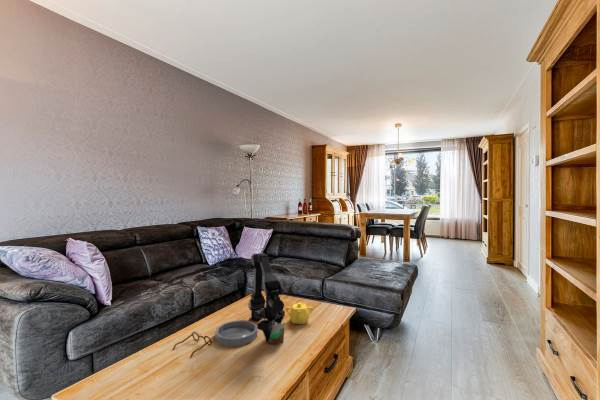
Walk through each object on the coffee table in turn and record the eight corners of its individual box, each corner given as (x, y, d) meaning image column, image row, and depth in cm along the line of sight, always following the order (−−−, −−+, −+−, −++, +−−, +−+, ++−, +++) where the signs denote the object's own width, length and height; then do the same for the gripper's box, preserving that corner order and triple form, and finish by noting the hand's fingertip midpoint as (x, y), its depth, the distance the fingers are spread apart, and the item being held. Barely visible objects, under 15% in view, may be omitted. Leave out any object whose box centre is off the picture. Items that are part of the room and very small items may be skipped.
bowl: (231, 324, 165) (231, 318, 164) (264, 330, 157) (264, 323, 157) (206, 341, 145) (206, 334, 145) (243, 349, 138) (243, 342, 138)
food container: (257, 342, 144) (257, 322, 144) (264, 337, 149) (264, 317, 149) (279, 348, 138) (279, 327, 138) (285, 342, 144) (285, 322, 144)
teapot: (316, 322, 167) (316, 304, 167) (299, 329, 158) (299, 310, 158) (300, 315, 177) (300, 298, 177) (283, 321, 169) (283, 303, 169)
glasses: (212, 346, 141) (212, 336, 141) (189, 359, 130) (189, 348, 130) (193, 340, 148) (193, 330, 148) (170, 352, 137) (170, 341, 137)
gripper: (265, 296, 155) (266, 326, 155) (247, 309, 138) (247, 342, 138) (285, 299, 151) (285, 329, 151) (268, 312, 134) (268, 347, 134)
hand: (271, 336), depth 144 cm, fingers open, 9 cm apart
